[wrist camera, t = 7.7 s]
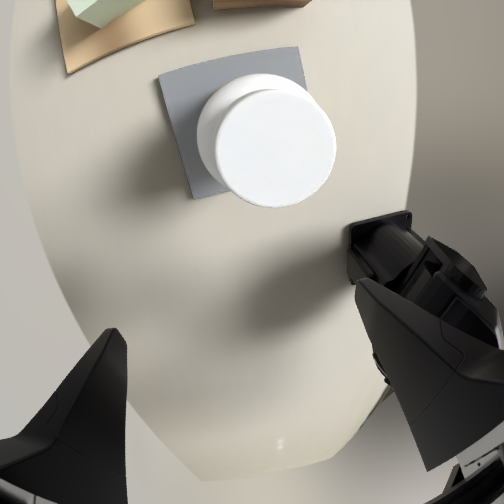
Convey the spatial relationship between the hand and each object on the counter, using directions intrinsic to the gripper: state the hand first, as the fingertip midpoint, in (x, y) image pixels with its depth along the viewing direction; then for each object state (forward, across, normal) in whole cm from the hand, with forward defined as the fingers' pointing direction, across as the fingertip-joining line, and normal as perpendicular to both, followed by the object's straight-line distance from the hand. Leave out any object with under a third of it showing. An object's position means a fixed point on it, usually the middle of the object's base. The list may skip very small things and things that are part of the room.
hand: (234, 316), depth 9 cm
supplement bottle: (+12, -2, -5) cm, 13 cm away
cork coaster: (+12, +4, -17) cm, 21 cm away
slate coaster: (+12, -2, -5) cm, 13 cm away
